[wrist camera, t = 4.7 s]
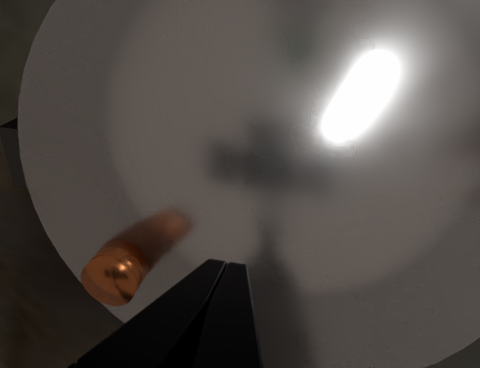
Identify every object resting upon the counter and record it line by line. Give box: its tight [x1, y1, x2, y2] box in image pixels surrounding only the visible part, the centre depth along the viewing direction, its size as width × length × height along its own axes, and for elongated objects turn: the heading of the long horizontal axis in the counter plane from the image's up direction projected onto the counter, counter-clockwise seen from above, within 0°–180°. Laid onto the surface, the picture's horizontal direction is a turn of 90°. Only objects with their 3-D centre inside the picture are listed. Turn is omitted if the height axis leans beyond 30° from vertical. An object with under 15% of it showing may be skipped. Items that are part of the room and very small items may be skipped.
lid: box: [18, 0, 480, 368], centre depth 11 cm, size 21×15×2 cm
